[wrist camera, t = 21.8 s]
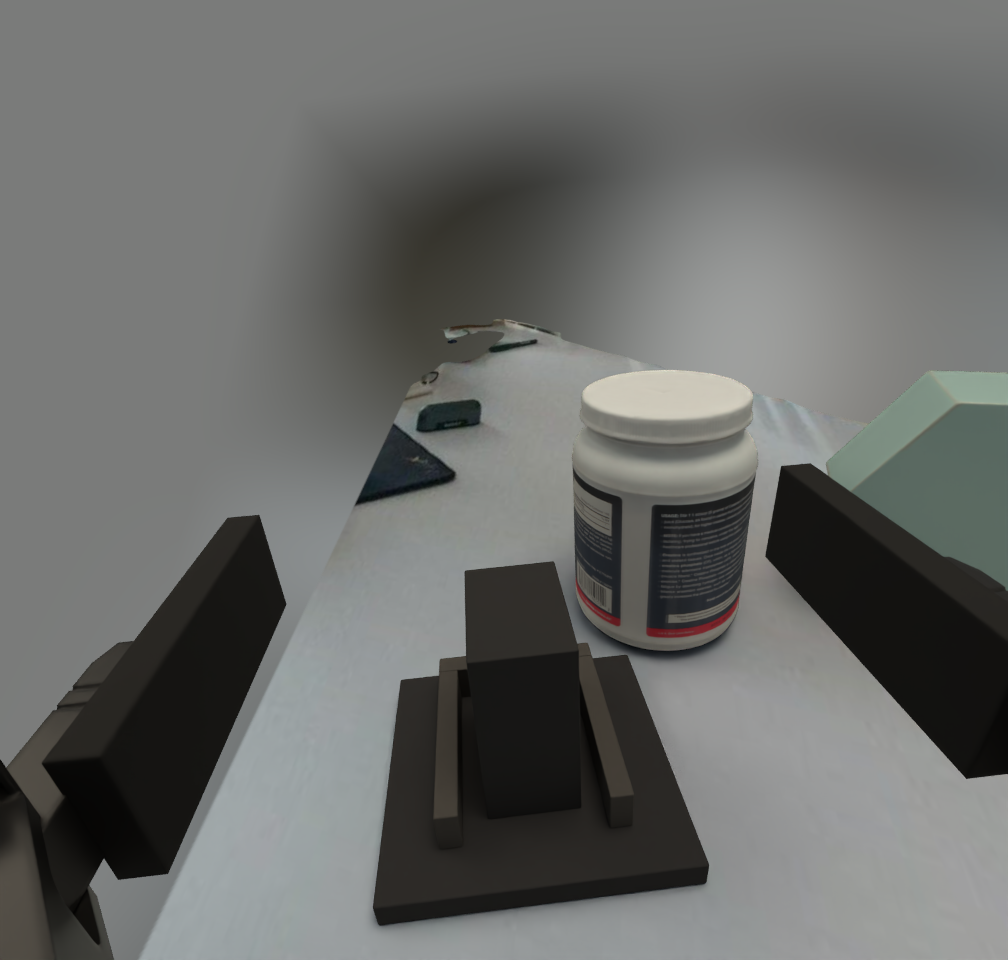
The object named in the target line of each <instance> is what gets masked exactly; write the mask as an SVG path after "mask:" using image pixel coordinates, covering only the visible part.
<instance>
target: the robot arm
mask: <svg viewBox="0 0 1008 960" xmlns="http://www.w3.org/2000/svg"><path fill="white" fill-rule="evenodd" d="M765 557H766V558H767V559H768V560H769V561H770V562H771V563H772V564H773V565H774V566H775V568H776V569H777V570H778V571H779V572H780V573H781V574H782V575H783V576H784V578H785V579H786V580H787V581H788V582H789V583H790V584H791V585H792V586H793V587H794V589H795V590H796V591H797V592H798V593H799V594H800V595H801V596H802V597H803V599H804V600H805V601H806V602H807V603H808V604H809V605H810V606H811V607H812V609H813V610H814V611H815V612H816V613H817V614H818V615H819V616H820V617H821V618H822V620H823V621H824V622H825V623H826V624H827V625H828V626H829V627H830V628H831V630H832V631H833V632H834V633H835V634H836V635H837V636H838V637H839V638H840V639H841V641H842V642H843V643H844V644H845V645H846V646H847V647H848V648H849V649H850V651H851V652H852V653H853V654H854V655H855V656H856V657H857V658H858V659H859V660H860V662H861V663H862V664H863V665H864V666H865V667H866V668H867V669H868V670H869V672H870V673H871V674H872V675H873V676H874V677H875V678H876V679H877V680H878V682H879V683H880V684H881V685H882V686H883V687H884V688H885V689H886V690H887V691H888V693H889V694H890V695H891V696H892V697H893V698H894V699H895V700H896V701H897V703H898V704H899V705H900V706H901V707H902V708H903V709H904V710H905V711H906V712H907V714H908V715H909V716H910V717H911V718H912V719H913V720H914V721H915V722H916V724H917V725H918V726H919V727H920V728H921V729H922V730H923V731H924V732H925V733H926V735H927V736H928V737H929V738H930V739H931V740H932V741H933V742H934V743H935V745H936V746H937V747H938V748H939V749H940V750H941V751H942V752H943V753H944V754H945V756H946V757H947V758H948V759H949V760H950V761H951V762H952V763H953V764H954V766H955V767H956V768H957V769H958V770H959V771H960V772H961V773H962V774H963V776H964V777H965V778H966V779H968V778H977V777H985V776H994V775H1002V774H1008V591H1006V589H1005V586H1003V585H1002V584H1000V583H999V582H997V581H996V580H994V579H993V578H991V577H990V576H988V575H987V574H985V573H984V572H982V571H981V570H979V569H977V568H974V567H972V566H970V565H967V564H965V563H963V562H961V561H958V560H956V559H954V558H951V557H943V556H942V555H940V554H939V553H937V552H936V551H935V550H933V549H932V548H930V547H929V546H927V545H926V544H925V543H923V542H922V541H920V540H919V539H917V538H916V537H915V536H913V535H912V534H910V533H909V532H907V531H906V530H905V529H903V528H902V527H900V526H899V525H897V524H896V523H895V522H893V521H892V520H890V519H889V518H888V517H886V516H885V515H883V514H882V513H880V512H879V511H878V510H876V509H875V508H873V507H872V506H870V505H869V504H868V503H866V502H865V501H863V500H862V499H860V498H859V497H858V496H856V495H855V494H853V493H852V492H850V491H849V490H848V489H846V488H845V487H843V486H842V485H840V484H839V483H838V482H836V481H835V480H833V479H832V478H830V477H829V476H828V475H826V474H825V473H823V472H822V471H821V470H819V469H818V468H816V467H815V466H813V465H812V464H811V463H810V464H799V465H789V466H781V470H780V476H779V482H778V488H777V493H776V499H775V505H774V510H773V516H772V522H771V527H770V533H769V539H768V544H767V550H766V556H765ZM285 606H286V601H285V599H284V595H283V592H282V588H281V585H280V582H279V578H278V575H277V572H276V569H275V565H274V562H273V559H272V555H271V552H270V549H269V545H268V542H267V539H266V535H265V532H264V529H263V526H262V522H261V519H260V516H259V515H254V516H243V517H232V518H227V519H226V521H225V522H224V523H223V525H222V526H221V527H220V529H219V530H218V531H217V532H216V534H215V535H214V536H213V538H212V539H211V540H210V542H209V543H208V544H207V546H206V547H205V548H204V550H203V551H202V552H201V553H200V555H199V556H198V557H197V559H196V560H195V561H194V563H193V564H192V565H191V567H190V568H189V569H188V571H187V572H186V573H185V575H184V576H183V577H182V578H181V580H180V581H179V582H178V584H177V585H176V586H175V588H174V589H173V591H172V592H171V593H170V595H169V596H168V597H167V598H166V600H165V601H164V602H163V604H162V605H161V606H160V607H159V609H158V610H157V611H156V613H155V614H154V615H153V617H152V618H151V619H150V621H149V622H148V623H147V625H146V626H145V627H144V628H143V630H142V631H141V633H140V634H139V635H138V636H137V638H136V639H135V640H134V641H130V642H122V643H117V644H116V645H115V646H114V647H112V648H111V649H110V650H108V651H107V652H106V653H105V654H103V655H102V656H100V658H98V659H97V660H95V661H94V662H93V663H92V664H91V665H90V666H89V667H88V668H87V670H86V671H85V672H84V673H83V674H82V676H81V677H80V678H79V679H78V681H77V682H76V683H75V684H74V685H73V690H72V691H69V692H68V693H67V694H66V695H65V697H64V698H63V699H62V700H61V701H60V703H59V704H58V705H57V710H54V711H52V713H51V714H50V715H49V716H48V717H47V719H46V720H45V721H44V722H43V723H42V725H41V726H40V727H39V728H38V730H37V731H36V732H35V733H34V734H33V736H32V737H31V738H30V739H29V741H28V742H27V743H26V744H25V745H24V747H23V748H22V749H21V750H20V752H19V753H18V754H17V755H16V757H15V758H14V759H13V760H12V762H11V763H10V764H9V765H8V766H7V767H5V765H4V764H3V763H2V761H1V760H0V960H114V958H113V954H112V950H111V946H110V943H109V939H108V935H107V932H106V928H105V924H104V921H103V917H102V913H101V909H100V906H99V902H98V898H97V896H96V894H95V893H94V891H93V890H92V889H91V887H90V886H89V884H90V882H91V880H92V878H93V877H94V875H95V873H96V871H97V869H98V868H99V866H100V864H101V862H102V860H103V859H105V860H106V862H107V863H108V865H109V866H110V868H111V869H112V871H113V872H114V874H115V876H116V877H117V879H118V880H121V879H128V878H137V877H146V876H154V875H163V874H168V873H169V870H170V868H171V866H172V864H173V861H174V859H175V857H176V854H177V852H178V850H179V848H180V845H181V843H182V841H183V838H184V836H185V834H186V832H187V829H188V827H189V825H190V823H191V820H192V818H193V816H194V813H195V811H196V809H197V806H198V804H199V802H200V800H201V798H202V795H203V793H204V791H205V788H206V786H207V784H208V782H209V779H210V777H211V775H212V773H213V770H214V768H215V766H216V763H217V761H218V759H219V757H220V754H221V752H222V750H223V747H224V745H225V743H226V741H227V738H228V736H229V733H230V732H231V729H232V727H233V725H234V722H235V720H236V718H237V716H238V713H239V711H240V709H241V707H242V704H243V702H244V700H245V697H246V695H247V693H248V691H249V688H250V686H251V684H252V682H253V679H254V677H255V675H256V672H257V670H258V668H259V665H260V663H261V661H262V659H263V656H264V654H265V652H266V650H267V647H268V645H269V643H270V641H271V638H272V636H273V634H274V631H275V629H276V627H277V624H278V622H279V620H280V618H281V616H282V613H283V611H284V609H285Z"/></svg>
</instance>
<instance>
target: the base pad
mask: <svg viewBox="0 0 1008 960" xmlns="http://www.w3.org/2000/svg"><path fill="white" fill-rule="evenodd" d="M577 645H578V649H579V682H580V745H581V808H575V809H567V810H559V811H551V812H543V813H535V814H526V815H518V816H510V817H502V818H494V819H488V817H487V810H486V803H485V795H484V788H483V781H482V773H481V766H480V759H479V751H478V744H477V737H476V729H475V722H474V715H473V707H472V700H471V693H470V685H469V678H468V671H467V663H466V656H463V657H454V658H445V659H440V666H439V676H432V677H423V678H414V679H405V680H401V684H400V692H399V700H398V708H397V716H396V725H395V733H394V741H393V749H392V757H391V765H390V773H389V782H388V790H387V798H386V806H385V814H384V822H383V830H382V838H381V847H380V855H379V863H378V871H377V879H376V887H375V895H374V904H373V909H374V912H375V916H376V919H377V922H378V924H379V925H383V924H390V923H398V922H406V921H414V920H421V919H429V918H437V917H445V916H452V915H460V914H468V913H476V912H484V911H491V910H499V909H507V908H515V907H522V906H530V905H538V904H546V903H553V902H561V901H569V900H577V899H584V898H592V897H600V896H608V895H616V894H623V893H631V892H639V891H647V890H654V889H662V888H670V887H678V886H685V885H693V884H701V883H706V882H707V875H708V869H709V864H708V861H707V858H706V856H705V853H704V851H703V848H702V846H701V843H700V840H699V838H698V835H697V833H696V830H695V828H694V825H693V822H692V820H691V817H690V815H689V812H688V810H687V807H686V804H685V802H684V799H683V797H682V794H681V792H680V789H679V787H678V784H677V781H676V779H675V776H674V774H673V771H672V769H671V766H670V763H669V761H668V758H667V756H666V753H665V751H664V748H663V745H662V743H661V740H660V738H659V735H658V733H657V730H656V727H655V725H654V722H653V720H652V717H651V715H650V712H649V709H648V707H647V704H646V702H645V699H644V697H643V694H642V691H641V689H640V686H639V684H638V681H637V679H636V676H635V673H634V671H633V668H632V666H631V663H630V661H629V658H628V656H627V655H620V656H611V657H602V658H592V656H591V652H590V649H589V646H588V643H580V644H577Z"/></svg>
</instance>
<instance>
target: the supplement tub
mask: <svg viewBox="0 0 1008 960" xmlns="http://www.w3.org/2000/svg"><path fill="white" fill-rule="evenodd" d="M752 404H753V394H752V392H751V390H749V388H748V387H747V386H745V385H744V384H742V383H740V382H738V381H736V380H733V379H730V378H727V377H723V376H719V375H715V374H709V373H702V372H694V371H681V370H651V371H639V372H630V373H624V374H619V375H614V376H610V377H606V378H603V379H600V380H598V381H596V382H594V383H592V384H590V385H589V386H588V387H586V388H585V389H584V391H583V392H582V399H581V410H580V419H581V421H582V422H583V423H584V424H585V425H586V426H585V427H584V428H583V429H582V430H581V431H580V432H579V434H578V436H577V438H576V440H575V442H574V446H573V453H572V461H573V489H574V528H575V570H576V595H577V598H578V601H579V604H580V607H581V609H582V610H583V612H584V614H585V615H586V617H587V618H588V619H589V620H590V621H591V622H592V623H593V624H594V625H595V626H596V627H597V628H598V629H599V630H601V631H602V632H604V633H605V634H607V635H608V636H610V637H612V638H614V639H616V640H618V641H620V642H623V643H625V644H628V645H631V646H635V647H639V648H643V649H649V650H659V651H675V650H684V649H689V648H694V647H697V646H700V645H703V644H705V643H708V642H710V641H712V640H713V639H715V638H716V637H718V636H719V635H721V634H722V633H723V632H724V631H725V630H726V629H727V628H728V626H729V625H730V624H731V622H732V621H733V619H734V617H735V615H736V613H737V610H738V606H739V594H740V587H741V579H742V571H743V563H744V556H745V548H746V541H747V533H748V526H749V518H750V511H751V504H752V496H753V489H754V482H755V475H756V470H757V467H758V453H757V448H756V445H755V442H754V440H753V438H752V437H751V435H750V434H749V432H748V431H747V430H746V429H745V428H746V427H747V426H748V425H749V424H750V423H751V421H752V419H753V412H752Z"/></svg>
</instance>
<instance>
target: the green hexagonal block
mask: <svg viewBox="0 0 1008 960" xmlns="http://www.w3.org/2000/svg"><path fill="white" fill-rule="evenodd" d="M826 467H827V472H828V476H829V477H830V478H832V479H833V480H835V481H836V482H838V483H839V484H840V485H842V486H843V487H845V488H846V489H848V490H849V491H850V492H852V493H853V494H855V495H856V496H858V497H859V498H860V499H862V500H863V501H865V502H866V503H868V504H869V505H870V506H872V507H873V508H875V509H876V510H878V511H879V512H880V513H882V514H883V515H885V516H886V517H888V518H889V519H890V520H892V521H893V522H895V523H896V524H897V525H899V526H900V527H902V528H903V529H905V530H906V531H907V532H909V533H910V534H912V535H913V536H915V537H916V538H917V539H919V540H920V541H922V542H923V543H925V544H926V545H927V546H929V547H930V548H932V549H933V550H935V551H936V552H937V553H939V554H940V555H942V556H943V557H951V558H954V559H956V560H958V561H961V562H963V563H965V564H967V565H970V566H972V567H974V568H977V569H979V570H981V571H982V572H984V573H985V574H987V575H988V576H990V577H991V578H993V579H994V580H996V581H997V582H999V583H1000V584H1002V585H1003V586H1005V589H1006V591H1008V373H1000V372H965V371H964V372H963V371H928V372H927V373H925V374H924V375H923V376H922V377H921V378H919V379H918V380H917V381H916V382H915V383H914V384H913V385H912V386H911V387H909V388H908V389H907V390H906V391H905V392H904V393H903V394H902V395H901V396H899V398H897V399H896V400H895V401H894V402H893V403H892V404H891V405H889V406H888V407H887V408H886V409H885V410H884V411H883V412H882V413H881V414H879V416H877V417H876V418H875V419H874V420H873V421H872V422H870V423H869V424H868V425H867V426H866V427H865V428H864V429H863V430H862V431H860V432H859V433H858V434H857V435H856V436H855V437H854V438H853V439H852V440H850V441H849V442H848V443H847V444H846V445H845V446H844V447H843V448H842V449H840V450H839V451H838V452H837V453H836V454H835V455H834V456H833V457H832V458H830V459H829V460H828V461H827V462H826Z"/></svg>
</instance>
